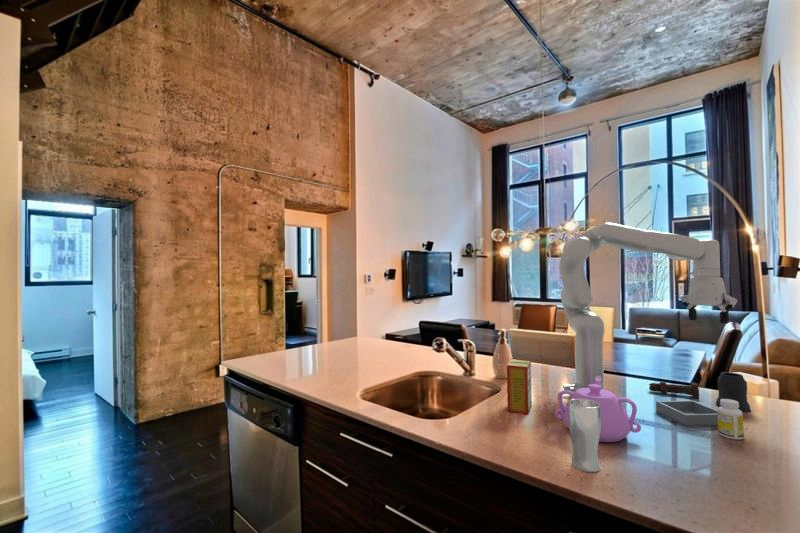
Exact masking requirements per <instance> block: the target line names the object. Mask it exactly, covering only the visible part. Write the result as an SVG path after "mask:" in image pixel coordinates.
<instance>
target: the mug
mask: <svg viewBox="0 0 800 533" xmlns="http://www.w3.org/2000/svg"><path fill="white" fill-rule="evenodd" d="M717 390H718V397H717V398H716V401H715V406H716V407H717V406H718V407H721V405H720V399H731V400H735V401H738V402H739V408H738V409H739V410H741V411H742V413H750V412H752V410H751V405H750V404H749V401H748V383H747V380H746V379H745V377H744V375H743V374H741V373H735V372H731V371H730V372H728V371H727V372H725V371H723V372H721V373H720V375H719V376H718V377H717ZM718 407H717V408H718ZM749 411H750V412H749Z"/></svg>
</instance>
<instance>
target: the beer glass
mask: <svg viewBox="0 0 800 533" xmlns="http://www.w3.org/2000/svg"><path fill="white" fill-rule="evenodd" d="M568 401H569V400H568ZM599 406H600V405H599V404H598V403H597V402H595V401H592V400H587V399H572V400H570V401H569V427H570V429H569V432H570V437H571V442H572V449H573V450H572V458H571V465H572V467H573V468H575V469H576V470H578V471H580V472H585V473H591V474H592V473H597V472H599V471H600V470H601V466H600V460H599V455H598V454H599V450H598V449H599V445H600V444H599V443H600V441H599V439H600V433H601V416H600V407H599Z"/></svg>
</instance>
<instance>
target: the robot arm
mask: <svg viewBox="0 0 800 533" xmlns="http://www.w3.org/2000/svg"><path fill="white" fill-rule="evenodd" d="M605 246H609V247H613V248H618V249H623V250H627V251H631V252H635V253H642V254H653V253H654V254H663V255H666V256H667V257H668V258H669V259H670V260H673V261H692V264H693V265H692V267H693V269H692V270H690V271H689V275H692V277H690V280H689V284H688V292H687V293H688V294H685V295H683V296H680V300H681V302H682V304H683V306H684V307H686V309H687V310H688V318H689V321H696V320H698V317H697V316H698V315H697V314H698V313H697V309H696V308H697V307H698V306H706V307H718V308H719V309H720V310H721V311H719V320H720V321H719V323H720V324H728V322H729V320H730V317H729V312H730V311H732V309H734V308H735V306H736V304H737V303H738V298H734V297H733V296H730V295H729V294H727V292H726V291H727V290H726V285H725V282H724V279H723V277H721V260H720V259H721V257H720V256H721V255H720V242H719V240H717V239H700V240H699V239H698V238H695V237H691V236H687V235H682V234H678V233H670V232H662V231H657V230H647V229H644V228H643V229H642V228H638V227H637V228H636V227H632V226H628V225H623V224H618V223H614V222H604V223H601V224H598V225H596V226H593V227H592V228H590V229H588V230H587V231H584V232H583V233H581V234H579V235H577V236H575V237H573V238H572V239H569V240H567V241H566V242H565V243H564V245H563V248H562V255H560V256H561V257H560V259H559V274H560V277H561V283H562V285H563V288H562V289H561V292H560V301H561V305H562V307H563V310H564V315H565V317H566V320H567V322H568V324H569V327H570V329H572V330H573V332H575V339H574V355H575V356H574V360H575V361H574V362H575V363H574V365H575V366H574V367H575V381H573V382H572V383H571V384H563V385H562V389H563V390H570V391H572V392H575V391H576V390H577V389H580V388H589V386H588V385H590V384H594V383H595V378H596V377H597V376H600V377H601V386H602V389H603V390H605V379H604V378H605V375H604V336H605V335H604V334H605V323H604V321H603V319H602V317H601V316H599V315H598V314H597V313H595V312H593V311H591V308H590V306H591V305H592V303H593V293H592V291H591V289H590V288H591V287H590V286H589V285H590V284H589V282H588V279H587V275H586V271H585V263H586V260H587V259H588V257H589V256H591V255H592V253H594V252H595V251H597V250H599V249H602V248H603V247H605ZM727 301H729V304H727Z"/></svg>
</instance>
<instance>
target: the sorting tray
mask: <svg viewBox="0 0 800 533" xmlns="http://www.w3.org/2000/svg"><path fill="white" fill-rule="evenodd" d="M655 409H656V410H655V412H656V413H657V414H659V415H661V414H662V416H663V415H664V417H665V418H667V417H668V418H667V419H669V418H670V419H669V420H671V419H672V421H673V420H674V421H673V422H675V421H676V422H675V423H677V424H680V425H681V426H683V427H685V428H699V427H701V428H702V427H703V428H704V427H718V414H717V409H715V408H712V407H710V406H708V405H705V404H703V403H700V402H698V401H696V400H693V399H692V400H658V401H657V400H656V401H655Z"/></svg>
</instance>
